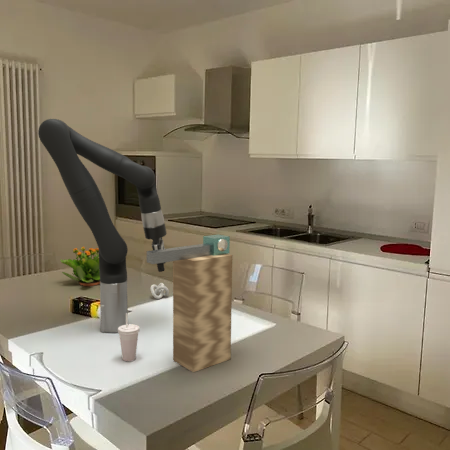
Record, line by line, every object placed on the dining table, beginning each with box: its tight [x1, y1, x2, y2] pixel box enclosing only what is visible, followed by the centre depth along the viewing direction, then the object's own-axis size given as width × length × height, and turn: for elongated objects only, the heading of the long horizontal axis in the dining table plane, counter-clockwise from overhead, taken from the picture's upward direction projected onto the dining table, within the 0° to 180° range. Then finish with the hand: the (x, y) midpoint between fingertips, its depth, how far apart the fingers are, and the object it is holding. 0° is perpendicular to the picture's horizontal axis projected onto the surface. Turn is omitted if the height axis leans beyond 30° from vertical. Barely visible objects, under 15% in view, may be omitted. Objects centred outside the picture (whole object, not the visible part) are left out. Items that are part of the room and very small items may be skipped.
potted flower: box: [60, 246, 100, 287], centre depth 224 cm, size 25×24×18 cm
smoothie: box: [117, 313, 141, 362], centre depth 141 cm, size 6×6×14 cm
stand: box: [172, 253, 233, 373], centre depth 140 cm, size 14×10×32 cm
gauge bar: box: [146, 234, 231, 265], centre depth 134 cm, size 26×6×5 cm, turn 131°
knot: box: [149, 282, 170, 300], centre depth 205 cm, size 8×8×6 cm
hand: (162, 267), depth 169 cm, fingers open, 8 cm apart
